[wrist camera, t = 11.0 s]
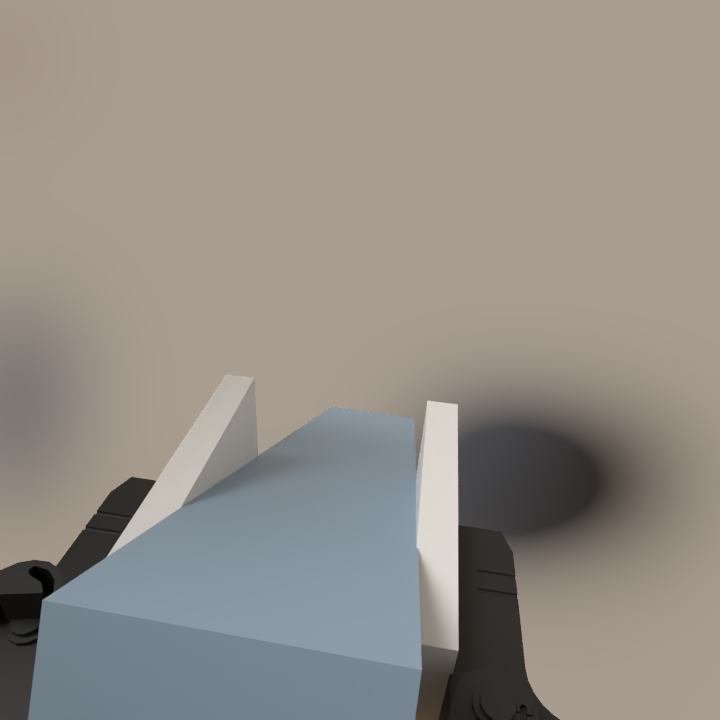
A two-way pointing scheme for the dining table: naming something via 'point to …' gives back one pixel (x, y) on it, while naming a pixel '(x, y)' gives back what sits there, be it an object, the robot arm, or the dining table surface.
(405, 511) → the bar
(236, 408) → the robot arm
